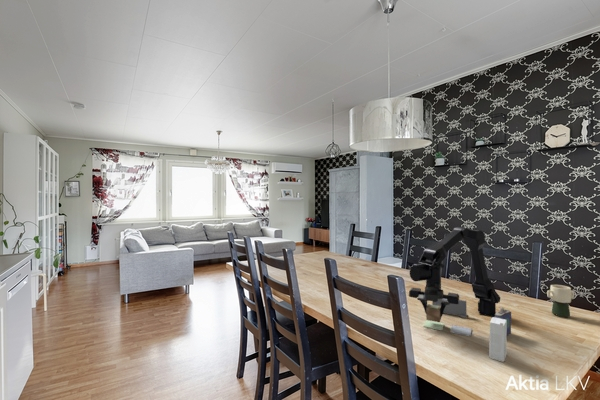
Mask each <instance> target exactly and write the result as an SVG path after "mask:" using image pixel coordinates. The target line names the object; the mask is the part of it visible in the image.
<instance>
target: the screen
mask: <svg viewBox="0 0 600 400" xmlns="http://www.w3.org/2000/svg"><path fill="white" fill-rule="evenodd" d="M431 302H432V304H431V305H436V306H441V302H442V299H438V301H437V302H433V301H431ZM443 314H446V315H447V314H448V315H452V316H459V317H460V318H463V319H467V316H468V313H467V300H465V299H459V304H451V303H450V304H449V305H446V307H445V308H444V311H443Z"/></svg>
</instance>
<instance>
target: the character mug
mask: <svg viewBox="0 0 600 400" xmlns="http://www.w3.org/2000/svg"><path fill="white" fill-rule="evenodd" d="M549 288H550V289H549V290H547V292H546V293H547V294H546V295H547V298H549V299H551V301H553V303H552V308H551V314H554V315H556V316H559V317H564V318H569V317H570V316H571V311H570V306H569V304H570V303H571V302H572V299H574V298H575V291H574V290H572V288H571V287H570V286H567V285H562V284H550V287H549Z"/></svg>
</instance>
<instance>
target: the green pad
mask: <svg viewBox="0 0 600 400" xmlns="http://www.w3.org/2000/svg"><path fill="white" fill-rule="evenodd" d="M444 326H445V323H444V322H443V323H442V322H435V321H430V320H425V322H424V324H423V327H424V328H428V329H433V330H437V331H443V330H444Z"/></svg>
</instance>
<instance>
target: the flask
mask: <svg viewBox="0 0 600 400" xmlns="http://www.w3.org/2000/svg"><path fill="white" fill-rule="evenodd" d="M498 308H499V311H496V314H495V318H500V319H505V320H507V337H508V336H510V335H512V311H511V310H510V309H509V310H508V309H505V308H504V307H502V306H500V307H498Z"/></svg>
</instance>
